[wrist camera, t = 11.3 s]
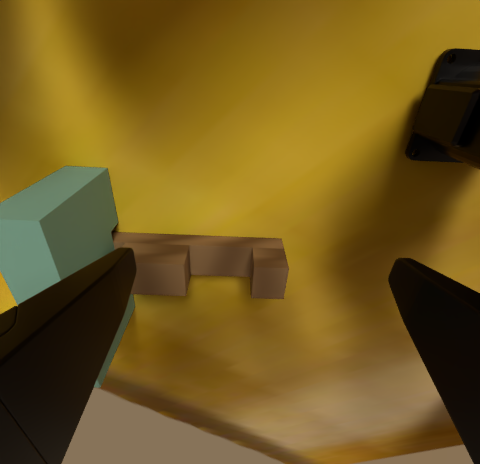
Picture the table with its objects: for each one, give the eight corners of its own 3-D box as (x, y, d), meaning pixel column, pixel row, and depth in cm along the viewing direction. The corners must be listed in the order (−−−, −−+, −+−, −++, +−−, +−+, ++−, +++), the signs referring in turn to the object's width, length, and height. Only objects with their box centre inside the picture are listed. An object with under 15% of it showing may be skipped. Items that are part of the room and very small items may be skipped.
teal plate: (65, 165, 20) (-27, 218, 13) (107, 168, 20) (38, 220, 13) (104, 305, 27) (58, 386, 20) (135, 306, 27) (100, 387, 20)
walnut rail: (281, 238, 23) (288, 268, 20) (277, 266, 25) (283, 299, 21) (38, 229, 22) (3, 258, 19) (50, 258, 24) (18, 290, 21)
